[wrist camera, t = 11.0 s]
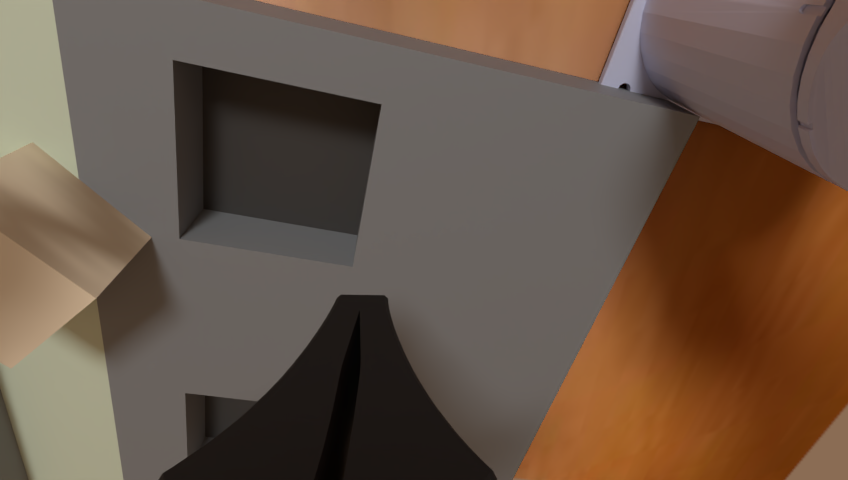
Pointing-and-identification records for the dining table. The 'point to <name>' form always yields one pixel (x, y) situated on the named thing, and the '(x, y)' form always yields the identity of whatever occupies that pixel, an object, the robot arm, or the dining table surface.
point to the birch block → (53, 249)
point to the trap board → (312, 219)
